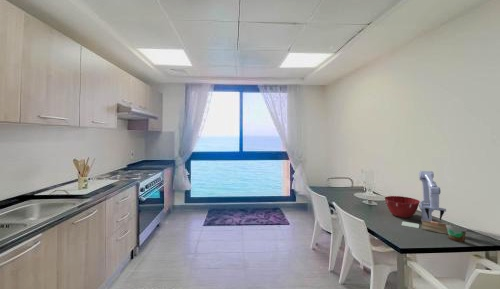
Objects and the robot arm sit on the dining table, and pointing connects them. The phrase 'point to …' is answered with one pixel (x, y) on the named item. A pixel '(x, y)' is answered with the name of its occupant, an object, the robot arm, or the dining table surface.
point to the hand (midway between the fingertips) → (434, 219)
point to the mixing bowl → (402, 206)
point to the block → (434, 223)
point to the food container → (456, 233)
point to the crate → (434, 227)
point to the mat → (410, 225)
